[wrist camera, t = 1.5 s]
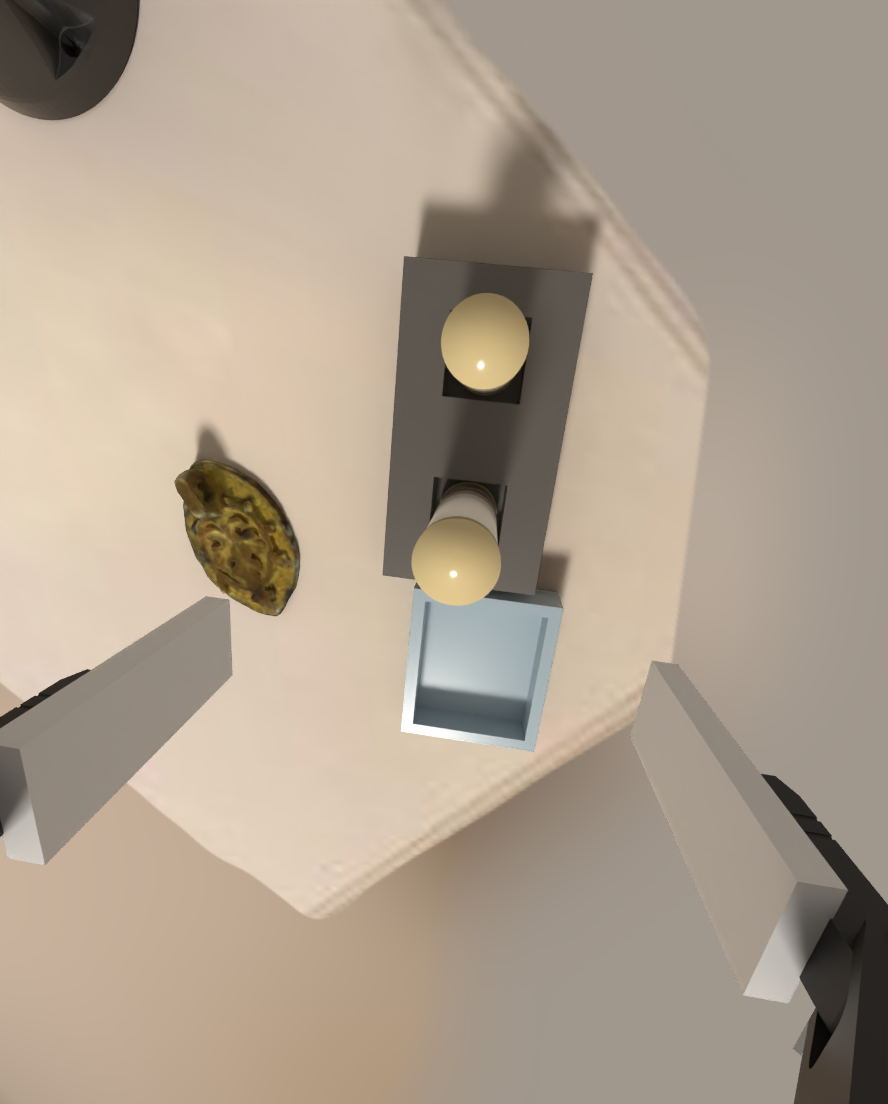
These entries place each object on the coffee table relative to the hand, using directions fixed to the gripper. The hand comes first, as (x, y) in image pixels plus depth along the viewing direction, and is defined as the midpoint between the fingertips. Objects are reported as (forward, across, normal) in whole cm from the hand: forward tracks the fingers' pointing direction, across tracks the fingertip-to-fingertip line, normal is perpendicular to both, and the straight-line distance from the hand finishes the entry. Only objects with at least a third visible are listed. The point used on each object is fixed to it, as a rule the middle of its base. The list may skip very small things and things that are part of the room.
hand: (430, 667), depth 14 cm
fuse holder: (+24, 0, +6) cm, 25 cm away
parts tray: (+25, +3, -13) cm, 28 cm away
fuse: (+24, 0, +11) cm, 26 cm away
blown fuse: (+24, 0, 0) cm, 24 cm away
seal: (+25, -20, -5) cm, 32 cm away
